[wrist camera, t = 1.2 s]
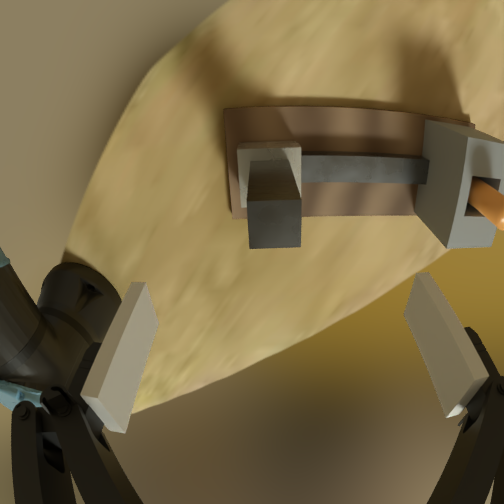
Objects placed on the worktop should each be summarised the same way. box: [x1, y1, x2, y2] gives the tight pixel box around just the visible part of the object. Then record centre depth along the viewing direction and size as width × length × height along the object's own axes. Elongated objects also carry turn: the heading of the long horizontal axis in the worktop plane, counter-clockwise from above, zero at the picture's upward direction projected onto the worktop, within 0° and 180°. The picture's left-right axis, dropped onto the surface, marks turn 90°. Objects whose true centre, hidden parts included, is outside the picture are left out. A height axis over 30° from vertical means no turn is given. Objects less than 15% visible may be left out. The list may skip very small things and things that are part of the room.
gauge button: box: [467, 176, 504, 230], centre depth 25 cm, size 3×3×8 cm
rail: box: [301, 151, 430, 185], centre depth 32 cm, size 22×3×2 cm, turn 93°
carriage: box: [237, 141, 302, 249], centre depth 27 cm, size 6×6×14 cm
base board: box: [224, 106, 475, 219], centre depth 33 cm, size 31×13×1 cm, turn 93°
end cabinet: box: [414, 120, 504, 249], centre depth 29 cm, size 7×12×9 cm, turn 3°
